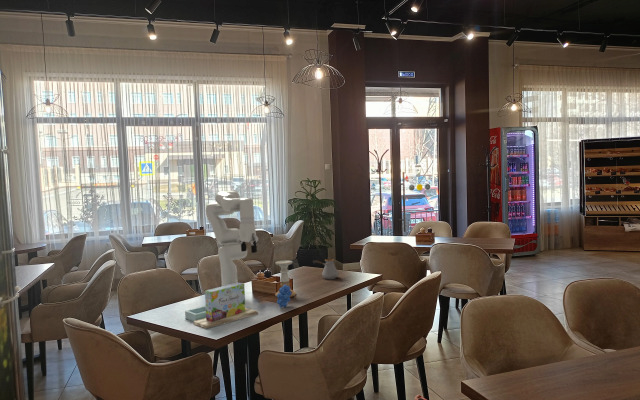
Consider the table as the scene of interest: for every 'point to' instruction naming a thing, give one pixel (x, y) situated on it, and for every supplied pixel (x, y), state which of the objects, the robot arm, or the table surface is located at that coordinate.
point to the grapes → (283, 296)
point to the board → (225, 319)
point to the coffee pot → (329, 269)
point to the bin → (196, 313)
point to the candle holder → (284, 275)
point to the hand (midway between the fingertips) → (249, 251)
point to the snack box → (225, 301)
